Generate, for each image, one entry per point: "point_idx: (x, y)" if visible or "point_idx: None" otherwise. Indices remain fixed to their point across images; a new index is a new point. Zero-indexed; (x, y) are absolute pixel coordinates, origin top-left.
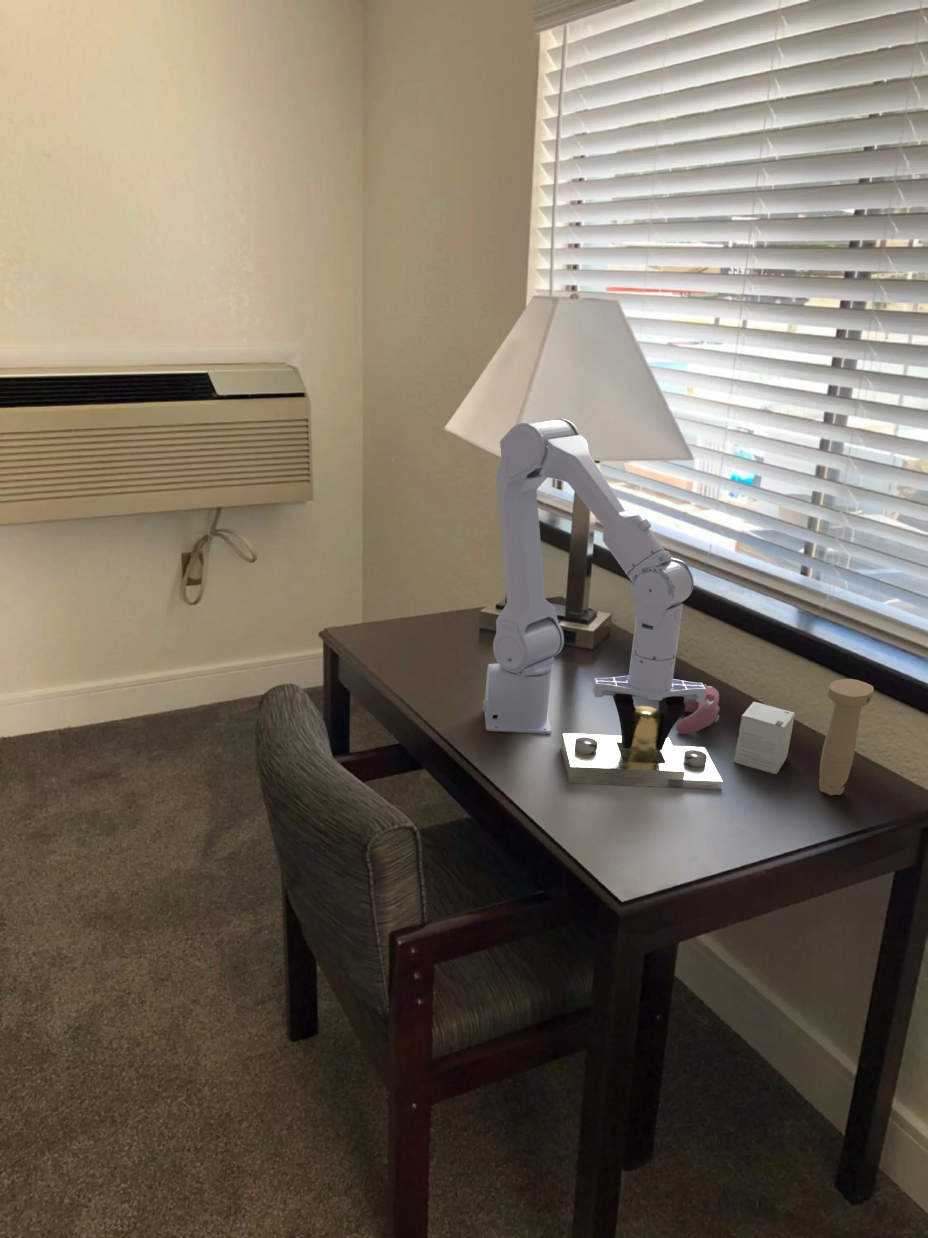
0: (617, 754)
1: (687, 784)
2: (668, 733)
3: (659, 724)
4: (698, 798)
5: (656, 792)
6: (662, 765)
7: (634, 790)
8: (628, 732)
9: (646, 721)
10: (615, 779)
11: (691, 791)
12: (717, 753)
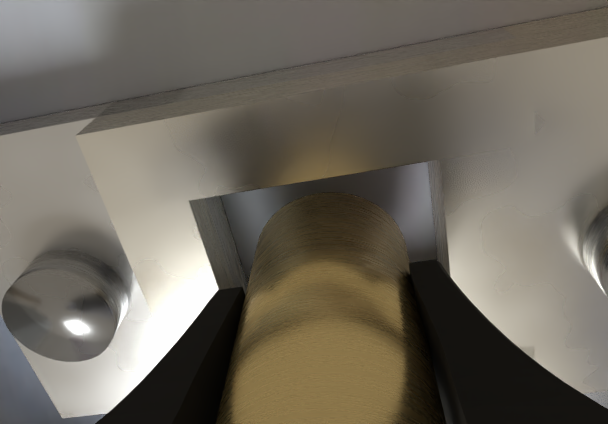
0: (464, 235)
1: (83, 112)
2: (159, 361)
3: (219, 413)
4: (16, 12)
5: (237, 15)
6: (208, 174)
7: (357, 3)
8: (451, 322)
9: (329, 400)
10: (472, 42)
11: (65, 79)
12: (29, 410)
